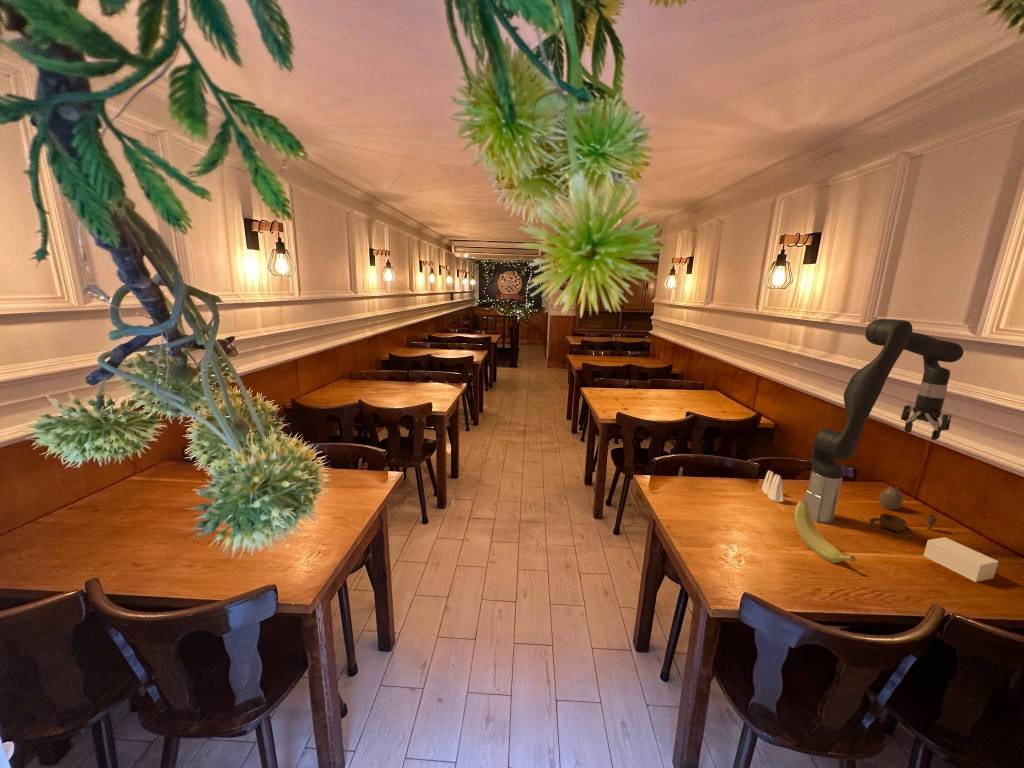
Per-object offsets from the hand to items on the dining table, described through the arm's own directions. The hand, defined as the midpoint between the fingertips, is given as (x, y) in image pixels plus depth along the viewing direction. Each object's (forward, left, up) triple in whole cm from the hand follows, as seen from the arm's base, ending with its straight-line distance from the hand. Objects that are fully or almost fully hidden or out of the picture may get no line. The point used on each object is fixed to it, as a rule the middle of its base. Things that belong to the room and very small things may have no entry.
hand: (920, 435), depth 167 cm
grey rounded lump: (-8, 0, -30) cm, 31 cm away
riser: (-30, -33, -29) cm, 53 cm away
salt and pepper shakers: (-48, +17, -30) cm, 59 cm away
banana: (-67, -8, -21) cm, 71 cm away
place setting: (-22, -15, -30) cm, 40 cm away
